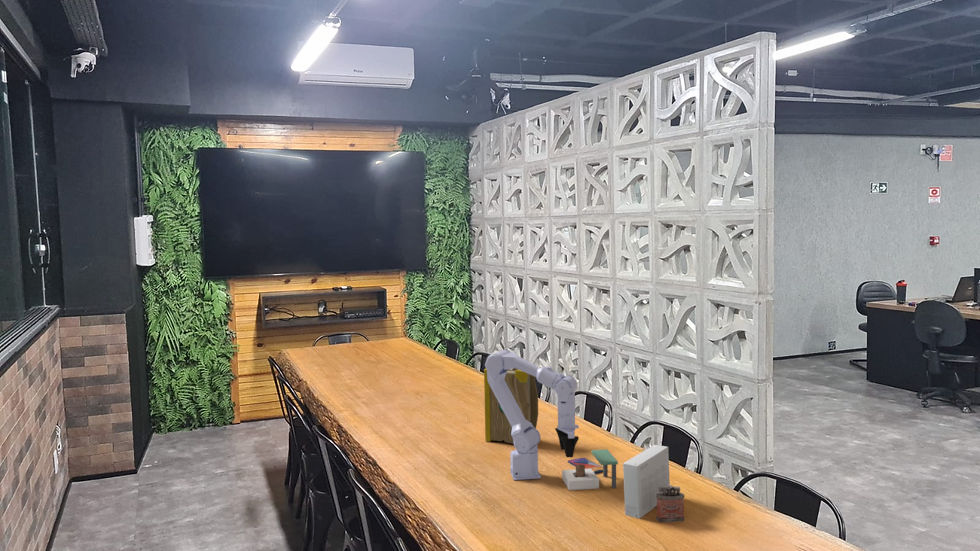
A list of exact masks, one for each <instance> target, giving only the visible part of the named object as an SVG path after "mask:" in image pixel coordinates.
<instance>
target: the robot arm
mask: <svg viewBox="0 0 980 551" xmlns="http://www.w3.org/2000/svg"><path fill="white" fill-rule="evenodd" d="M484 367H485V368H486V369H487V379H488V383H489V385H490V387H491V389H492V391H493V393H494V394H495V396H496V398H497V400H498V402H499V404H500V406H501V408H502V409H503V411H504V413H505V415H506V417H507V419H508V421H509V423H510V425H511V426H512V432H511V436H512V438H513V441H514V444H513V447H514V448H515V450H510V453H509V455H510V458H509V460H510V468H509V469H510V472H509V473H510V474H511V477H512V479H513V481H519V480H520V481H521V480H538V479H541V478H542V476H541V474H540V472H539V447H538V444H539V443H540V442H541V433H540V431H539V430H538V429H537V428H536V429H535V428H534V427H533V425H532V423H530V422H529V421H527V420H526V419H525V417H524V415H523V414H522V412H521V410H520V408H519V406H518V404H517V402H516V401H515V399H514V397H513V395H512V393H511V391H510V389H509V387H508V386H507V384H506V382H505V380H504V379H505V376H506V373H507V370H508V369H510V370H512V369H513V368H516V369H518V370H521V371H523V372H526V373H528V374H530V375H533V376H534V377H535V380H536V381H537V383H540V384H541V385H543V386H545V387H548V388H549V389H551V390H554V392H555V393H556V394H557V427H556V428H554V429H555V431H556V434H557V437H558V441H559V446H560V450H561V451H562V450H563V451H564V453H565V458H573V457H574V453H575V450H576V445H577V444H578V441H579V439H580V437H579V436H578V435H576V436H575V431H576V429H579V428H580V426H579V424H576V397H575V396H576V395H575V394H576V393H575V391H576V389H577V388H578V382H577V380H576V378H575V377H573V376H572V375H570V374H566V375H565V374H564V373H563V372H561V373H560V372H557V371H556V370H553V369H552V367H551V366H542V367H539V366H537V365H536V364H534V363H532V362H531V361H528V360H527V359H526V358H523V357H521V356H519V355H518V354H517V353H515V352H513V351H511V350H509V349H501V350H499V351H497V352H495V353H491V354H489V355H488V356H487V357H486V360H485V363H484Z"/></svg>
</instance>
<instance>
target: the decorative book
mask: <svg viewBox="0 0 980 551" xmlns="http://www.w3.org/2000/svg"><path fill="white" fill-rule="evenodd" d="M483 379H484V380H483V384H484V386H483V389H484V432H485V433H484V434H485V436H484V437H485V442H490V443H491V441H495V442H496V441H497V442H504V443H509V444H512V445H514V441H513V438H512V436H511V432H512V426H511V425H510V423H509V421H508V419H507V417H506V415H505V413H504V411H503V409H502V408H501V406H500V404H499V402H498V400H497V398H496V396H495V394H494V393H493V391H492V389H491V387H490V385H489V383H488V379H487V369H486V367H485V368H484V369H483ZM504 380H505V382H506V384H507V386H508V387H509V389H510V391H511V393H512V395H513V397H514V399H515V401H516V402H517V404H518V406H519V408H520V410H521V412H522V414H523V415H524V417H525V419H526V420H527V421H529V422H530V423H532V425H533V427H534V428H535V429H537V424H538V418H539V394H538V389H537V383H536V377H535V376H533V375H530V374H528V373H526V372H523V371H521V370H518V369H516V368H512V369H508V370H507V373H506V376H505V379H504Z"/></svg>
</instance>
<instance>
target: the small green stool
mask: <svg viewBox="0 0 980 551" xmlns="http://www.w3.org/2000/svg"><path fill="white" fill-rule="evenodd" d="M591 454H592V455H593V457H594V458H595V460H597V461H598V464H599V465H600V466H602V467H603V472H602V473H603V474H602V476H603V478H607V477H608V472H609V471H608V468H609V466H611V488H612V489H617V465H618V463H619V461H618V460H617V459H616V457H615V456H614V455H613V454H612V453H611V452H610V451H609V449H592V450H591Z"/></svg>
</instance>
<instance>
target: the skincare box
mask: <svg viewBox="0 0 980 551" xmlns="http://www.w3.org/2000/svg"><path fill="white" fill-rule="evenodd" d="M669 456H670V455H669V446H665V445H658V444H653V445H651V446H650V447H648V448H646V449H645V450H642V451H640V453H638V454H636V455H634V456H633V457H631V458H629V459H628V460H626V461H624V462H623V463H622V469H623V470H622V471H623V493H624V494H623V495H624V515H625V516H628V517H632V518H634V519H635V518H636V519H641V518H643V517H644V516H645V515H646V514H648V513H649V512H651V511H652V510H653V509H655V507H656V508H657V498H656V494H658V493H663V492H659V487H662V486H667V487H669V486H670V485H671V484H670V458H669ZM666 493H667V492H666Z"/></svg>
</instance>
